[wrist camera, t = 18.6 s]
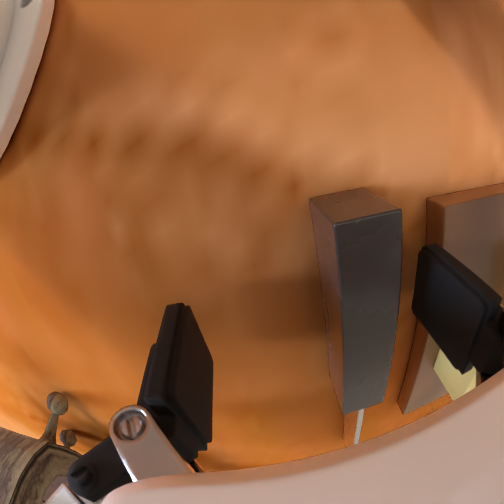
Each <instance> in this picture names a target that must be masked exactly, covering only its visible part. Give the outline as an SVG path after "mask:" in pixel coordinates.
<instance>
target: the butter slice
mask: <svg viewBox="0 0 504 504" xmlns="http://www.w3.org/2000/svg"><path fill="white" fill-rule="evenodd" d="M500 306H502V305H501V304H500ZM502 307H503V306H502ZM433 369H434V371H435V372H436V374H437V375H438V377H439V379H440V380H441V382H442V383H443V385H444V387H445V388H446V390H447V392H448V393H449V395H450V397H451V398H452V400H453V401H454V400H456V399H458V398H459V397H461V396H463V395H464V394H466V393H468V392H469V391H471V390H472V389H474V388H476V369H475V367H474V366H473V368H472V369H471V370H470V371H468V372H467V373H465V374H463V375H462V374H461V373H460V371H459V370H456V369H455V368H454V367H453V366H452V364H451V363H450V361H449V360H448V359H447V357H446V356H445V354H444V353H443V352H442V350H441V349H440V350H439V353H438V356H437V359H436V362H435V365H434V368H433Z"/></svg>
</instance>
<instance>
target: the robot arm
mask: <svg viewBox="0 0 504 504" xmlns="http://www.w3.org/2000/svg"><path fill="white" fill-rule="evenodd" d="M54 3H55V0H0V158H1V156H2V154H3V153H4V151H5V149H6V147H7V146H8V143H9V141H10V138H11V136H12V134H13V132H14V129H15V127H16V125H17V123H18V121H19V119H20V116H21V113H22V110H23V108H24V105H25V103H26V100H27V98H28V95H29V93H30V90H31V87H32V84H33V81H34V78H35V75H36V72H37V69H38V67H39V64H40V61H41V58H42V54H43V50H44V47H45V44H46V40H47V37H48V34H49V30H50V25H51V20H52V15H53V11H54ZM501 301H502V297H501V296H500V295H499V294H498V293H496V292H495V291H494V290H493V289H492V288H491V287H490V286H489V285H488V284H486V283H485V282H484V281H483V280H482V279H481V278H479V277H478V276H477V275H476V274H475V273H474V272H472V271H471V270H470V269H469V268H467V267H466V266H465V265H464V264H463V263H461V262H460V261H459V260H457V259H456V258H455V257H454V256H452V255H451V254H450V253H448V252H447V251H446V250H445V249H443V248H442V247H441V246H439V245H438V244H436V243H433V244H430V245H426V246H423V247H422V249H421V251H420V252H419V256H418V265H417V274H416V281H415V288H414V295H413V301H412V311H413V314H414V315H415V316H416V318H417V319H418V320H419V321H420V323H421V324H422V325H423V326H424V328H425V329H426V330H427V332H428V333H429V334H430V336H431V337H432V338H433V340H434V341H435V342H436V344H437V345H438V346H439V348H440V349H441V350H442V352H443V353H444V354H445V356H446V357H447V359H448V360H449V361H450V363H451V364H452V366H453V367H454V368H455V369H456V370H459V371H460V373H461V374H462V375H463V374H465V373H467V372H468V371H470V370H471V369H472V368H473V366H474V367H475V369H476V388H474V389H472V390H471V391H469V392H468V393H466V394H464V395H463V396H461V397H459V398H458V399H456V400H454V401H452V402H451V403H449V404H447V405H445V406H443V407H442V408H440V409H438V410H436V411H434V412H432V413H430V414H428V415H426V416H424V417H422V418H420V419H418V420H416V421H414V422H412V423H409V424H407V425H405V426H403V427H400V428H398V429H396V430H393V431H391V432H388V433H386V434H383V435H381V436H378V437H375V438H373V439H370V440H367V441H364V442H361V443H358V444H355V445H352V446H349V447H346V448H343V449H339V450H336V451H332V452H329V453H325V454H321V455H317V456H313V457H309V458H304V459H300V460H295V461H290V462H285V463H279V464H273V465H267V466H261V467H254V468H246V469H237V470H227V471H214V472H206V471H205V470H204V469H203V468H202V467H201V466H200V465H199V463H198V462H197V461H196V460H195V459H196V458H197V457H198V451H206V450H207V443H210V442H211V441H212V400H213V360H212V356H211V354H210V352H209V350H208V347H207V345H206V343H205V341H204V338H203V336H202V334H201V331H200V329H199V327H198V324H197V322H196V320H195V317H194V315H193V313H192V310H191V308H190V306H185V305H184V304H183V303H176V304H171V305H167V306H166V309H165V313H164V316H163V320H162V323H161V327H160V331H159V334H158V338H157V342H156V344H153V345H152V347H151V349H150V353H149V357H148V361H147V365H146V368H145V372H144V376H143V381H142V385H141V389H140V393H139V397H138V402H137V405H129V406H126V407H123V408H121V409H120V410H118V411H117V412H116V413H115V414H114V415H113V417H112V418H111V421H110V423H109V433H110V436H109V437H108V438H107V439H105V440H104V441H102V442H101V443H100V444H98V445H97V446H96V447H94V448H93V449H91V450H90V451H89V452H87V453H86V454H84V455H83V456H82V457H80V458H79V459H77V460H76V461H75V462H74V463H72V464H71V466H70V468H69V469H68V473H67V482H68V483H67V484H64V483H62V484H61V485H60V486H59V488H58V489H57V490H56V491H55V492H54V493H53V494H52V495H51V496H50V497H49V499H48V500H47V501H46V502H45V503H44V504H504V306H503V307H502V306H500V304H501Z"/></svg>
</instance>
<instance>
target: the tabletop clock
mask: <svg viewBox="0 0 504 504" xmlns="http://www.w3.org/2000/svg"><path fill="white" fill-rule="evenodd" d="M47 406H48V408H49V410H50V411H51V412H52V413H51V415H50V418H49V421H48V424H47V426H46V429H45V432H44V434H43V435H42V437H41V438H40V439H39V440H38V439H35V438H31V437H28V436H25V435H22V434H19V433H16V432H13V431H10V430H7V429H5V428H2V427H0V504H44V503H45V502H46V501H47V500H48V499H49V497H50V496H51V495H52V494H53V493H54V492H55V491H56V490H57V489H58V488H59V486H60V485H61V484H62V483H64V484H67V483H68V482H67V473H68V469H69V468H70V466H71V464H72V463H74V462H75V461H76V460H77V459H79V458H80V457H82V456H83V455H81V454H79V453H78V452H76V451H74V450H72V449H70V446H74V445H75V443H76V442H77V439H76V435H75V434H74V433H73V432H72V431H70V430H62V431H61V433H60V440H61V442H62V443H63V444H64V446H61V445H57V444H56V430H57V423H58V416H59V415H63V414H65V413H66V412H67V410H68V401H67V399H66V397H65V396H64V395H63V394H61V393H59V392H53V393H50V394H49V395H48V397H47Z"/></svg>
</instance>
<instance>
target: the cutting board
mask: <svg viewBox="0 0 504 504" xmlns="http://www.w3.org/2000/svg"><path fill="white" fill-rule="evenodd" d="M433 243H436V244H438V245H439V246H441V247H442V248H443V249H445V250H446V251H447V252H448V253H450V254H451V255H452V256H454V257H455V258H456V259H457V260H459V261H460V262H461V263H463V264H464V265H465V266H466V267H467V268H469V269H470V270H471V271H472V272H474V273H475V274H476V275H477V276H478V277H479V278H481V279H482V280H483V281H484V282H485V283H486V284H488V285H489V286H490V287H491V288H492V289H493V290H494V291H495V292H496V293H498V294H499V295H500V296H501V297H502V301H501V305H502V306H504V183H501V184H496V185H491V186H485V187H480V188H475V189H470V190H465V191H460V192H455V193H450V194H445V195H440V196H436V197H431V198H427V235H426V245H430V244H433ZM439 350H440V348H439V346H438V345H437V344H436V342H435V341H434V340H433V338H432V337H431V336H430V334H429V333H428V332H427V330H426V329H425V328H424V326H423V325H422V324H421V323H420V321H419V320H417V326H416V331H415V336H414V341H413V346H412V351H411V355H410V359H409V363H408V367H407V371H406V375H405V379H404V382H403V386H402V389H401V392H400V396H399V399H398V402H397V403H398V405H399V407H400V410H401V412H402V414H403V415H404V414H407V413H409V412H411V411H414V410H416V409H418V408H420V407H422V406H424V405H427V404H429V403H431V402H433V401H435V400H437V399H439V398H441V397H443V396H444V395H446V394H448V392H447V390H446V388H445V387H444V385H443V383H442V382H441V380H440V379H439V377H438V375H437V374H436V372H435V371H434V369H433V368H434V365H435V362H436V359H437V356H438V353H439Z"/></svg>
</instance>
